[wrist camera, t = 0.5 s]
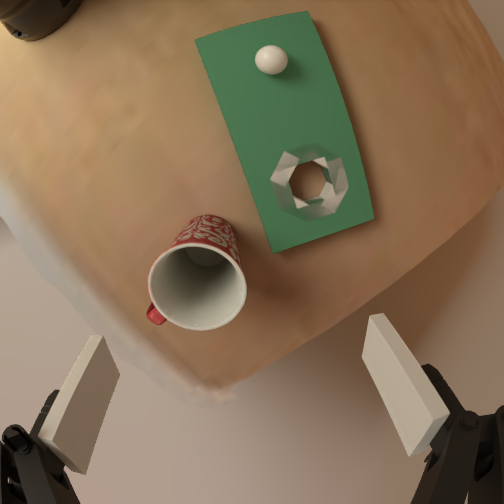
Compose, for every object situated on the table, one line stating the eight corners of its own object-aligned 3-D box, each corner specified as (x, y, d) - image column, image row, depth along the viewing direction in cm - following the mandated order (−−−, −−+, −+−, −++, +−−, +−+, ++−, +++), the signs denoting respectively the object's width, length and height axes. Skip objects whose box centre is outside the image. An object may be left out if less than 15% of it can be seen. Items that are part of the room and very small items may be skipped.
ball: (249, 54, 28) (251, 46, 24) (278, 47, 27) (283, 38, 24) (260, 81, 29) (262, 74, 26) (289, 73, 29) (295, 66, 25)
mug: (211, 191, 36) (197, 221, 24) (257, 244, 39) (267, 295, 26) (143, 253, 39) (107, 305, 26) (189, 298, 41) (172, 361, 29)
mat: (197, 46, 29) (194, 39, 27) (303, 17, 28) (307, 10, 26) (270, 246, 39) (273, 253, 37) (367, 213, 38) (374, 218, 36)
